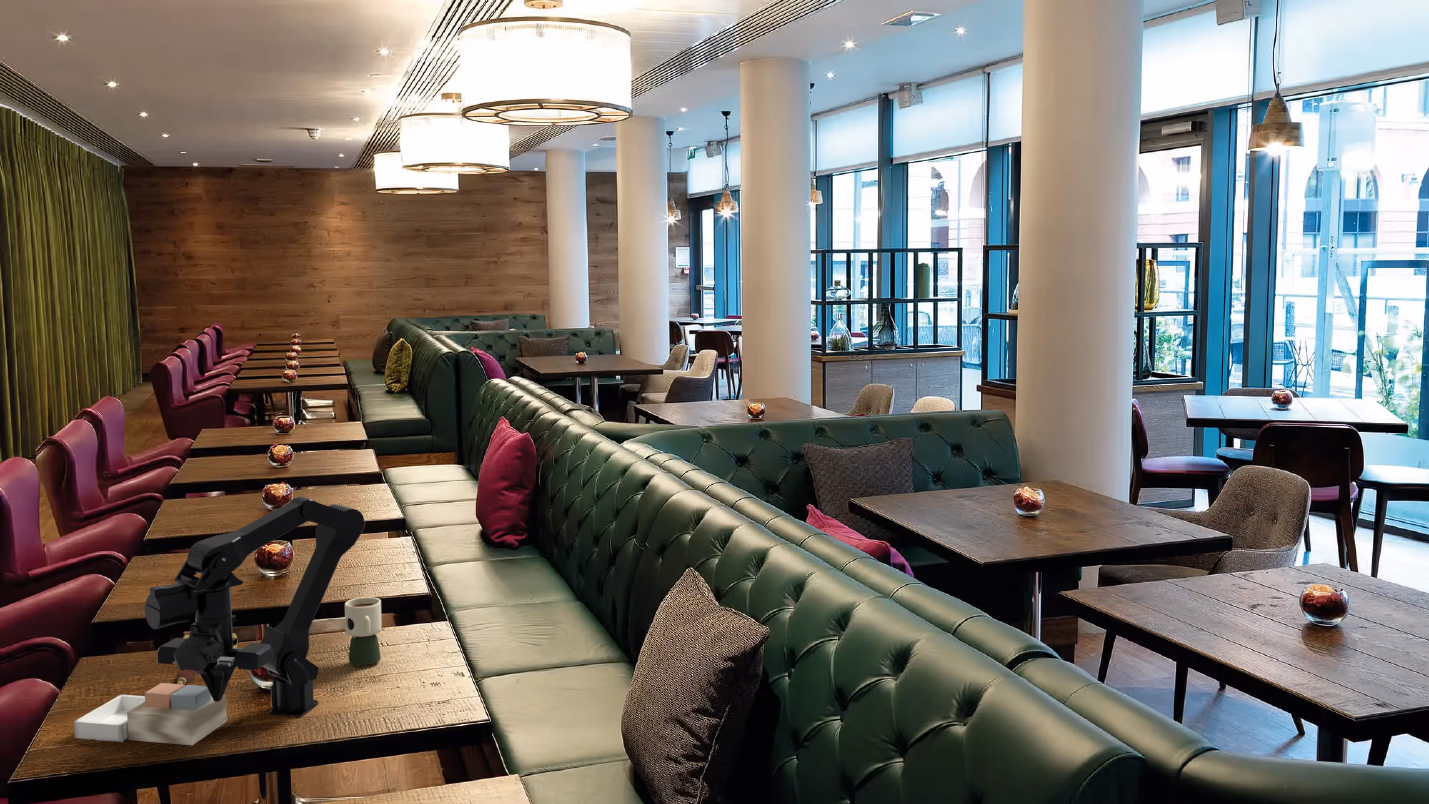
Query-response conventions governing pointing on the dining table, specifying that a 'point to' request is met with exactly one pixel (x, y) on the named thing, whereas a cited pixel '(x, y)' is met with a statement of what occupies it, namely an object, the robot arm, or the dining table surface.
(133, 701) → the box
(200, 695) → the slate tile
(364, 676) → the dining table surface
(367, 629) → the character mug
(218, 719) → the wooden square block
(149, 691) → the terracotta tile
